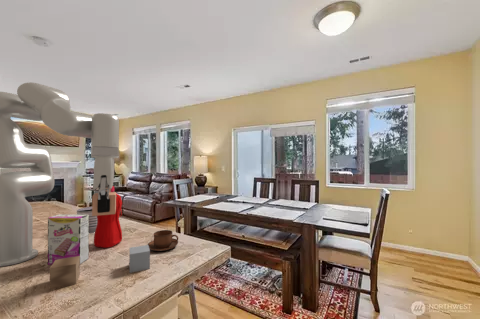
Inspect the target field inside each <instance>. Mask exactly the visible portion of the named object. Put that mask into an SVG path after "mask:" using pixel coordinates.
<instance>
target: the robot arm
mask: <svg viewBox="0 0 480 319" xmlns="http://www.w3.org/2000/svg"><path fill="white" fill-rule="evenodd" d="M16 92H17V93H16V94H15V93H10V92H4V91H0V168H1V169H9V170H10V169H12V170H14V169H15V170H16V169H30V170H27V171H26V170H24V171H23V170H22V171H8V172H3V173H0V267H5V266H6V267H7V266H12V265H16V264H20V263H24V262H26V261H29V260H31V259H33V258H35V257H37V256H38V254H39V250H38V249H36V248H33V237H34V236H33V235H34V234H33V231H34V229H33V226H34V225H33V217H34V215H33V207H32V205H31V203H30V202H29V201H28V200H27V199H26V198H27V197H33V196H34V197H35V196H40V195H47V194H49V193H51V191H53V189H54V187H55V174H54V168H53V162H52V157H51V153H50V152H49V150H48V149H47V148H46V147H45V146H44V145H41V144H36V143H33V144H32V143H26V142H25V139H24V132H23V130H22V129H21V128H20V126H19V125H18V124H17V123H16V122H15V121H13V119H12V118H15V119H21V120H29V121H34V122H41V121H42V123H43V124H44V125H45V126H47V127H48V128H49V129H51V131H54V132H55V133H57V134H60V135H63V136H67V137H76V138H86V139H91V141H90V142H91V144H90V158H92V159H93V158H94V163H93V180H92V181H93V182H92V183H93V184H92V189H93V191H96V190H97V189H98V192H97V193H98V206H97V212H98V213H103V212H109V211H110V199H109V192H111V188H112V186H114V178H115V159H119V157H120V154H119V153H120V120H119V117H118V116H117V115H114V114H110V113H103V112H102V113H99V112H98V113H95V114H92V115H91V114H86V113H81V112H78V111H72V110H71V103H70V98H69V96H68V94H67V93H65V92H64V91H63V90H62V89H61V90H60V89H57V88H54V87H51V86H48V85H44V84H41V83H37V82H24V83H21V84H20V85H19V86H18V88H17V91H16Z"/></svg>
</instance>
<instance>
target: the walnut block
mask: <svg viewBox="0 0 480 319" xmlns="http://www.w3.org/2000/svg"><path fill="white" fill-rule="evenodd" d="M80 267H81V264H80V256H76V257H70V258H64V259H58V260H55V261H54V263H53V264H52V265H51V266H50V267H49V290H50V291H51V290H55V289H59V288H64V287H69V286H74V285H77V283H78V280H79V277H80V276H81V274H80V273H81V270H80Z"/></svg>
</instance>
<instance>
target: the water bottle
mask: <svg viewBox="0 0 480 319" xmlns="http://www.w3.org/2000/svg"><path fill="white" fill-rule="evenodd" d="M111 192H115V186H114V185H113V186H112V188H111ZM122 207H123V199H122V197H121V195H120V194H118V193H116V212H115V214H109V215H98V216H97V226H96V230H95V233H93V234H94V235H93V245H94V247H95V248H104V249H108V248H112V247H114V246H116V245H118V244H120V243H121V242H122V241H123V232H122V231H123V230H122V226H121V223H120V220H119V219H120V218H121V217H122V215H123V211H122Z"/></svg>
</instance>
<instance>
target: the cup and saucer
mask: <svg viewBox="0 0 480 319" xmlns="http://www.w3.org/2000/svg"><path fill="white" fill-rule="evenodd" d="M173 237H174V238H173ZM178 244H179V236H178V235H176V234H173V231H172V230H168V229H167V230H166V229H162V230H158V231H155V232H154V233H153V240H151V241H150V242H148V243H147V245H148V246H149V249H150V251H154V252H164V251H169V250H172V249H174V248H176V246H177V245H178Z"/></svg>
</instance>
